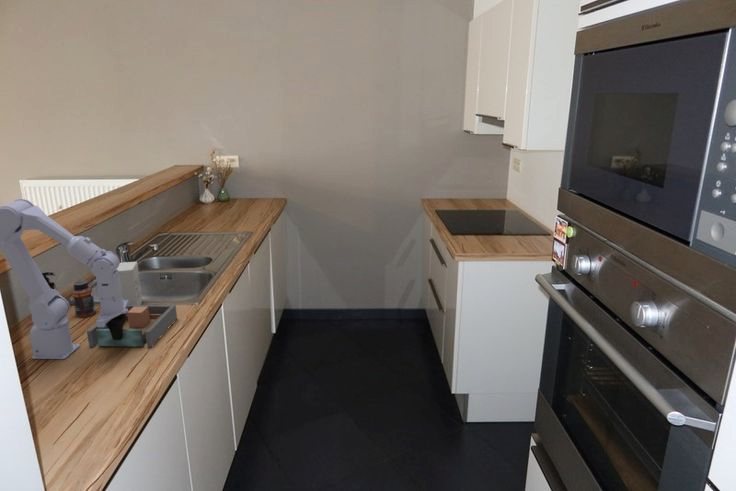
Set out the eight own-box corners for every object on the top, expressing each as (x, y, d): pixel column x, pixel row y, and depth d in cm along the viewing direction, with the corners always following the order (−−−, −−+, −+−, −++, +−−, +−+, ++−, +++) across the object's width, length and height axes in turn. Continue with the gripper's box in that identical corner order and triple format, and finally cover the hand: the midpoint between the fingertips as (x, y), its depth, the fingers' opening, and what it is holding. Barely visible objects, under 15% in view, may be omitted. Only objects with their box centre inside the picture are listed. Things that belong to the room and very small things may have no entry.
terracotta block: (129, 327, 162) (127, 312, 160) (136, 321, 166) (134, 306, 164) (143, 327, 161) (141, 312, 160) (150, 321, 166) (148, 306, 164)
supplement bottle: (100, 311, 177) (94, 280, 173) (87, 318, 171) (81, 286, 168) (85, 309, 178) (79, 278, 175) (71, 317, 172) (65, 285, 169)
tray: (98, 345, 152) (95, 330, 151) (126, 320, 168) (124, 306, 167) (142, 346, 152) (140, 330, 150) (166, 321, 168) (164, 306, 166)
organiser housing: (89, 347, 152) (86, 331, 151) (121, 318, 171) (119, 304, 169) (151, 347, 152) (149, 332, 150) (177, 319, 170) (175, 305, 168)
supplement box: (110, 314, 175) (102, 271, 170) (115, 303, 183) (109, 263, 178) (139, 311, 177) (132, 269, 172) (143, 300, 185) (137, 260, 180)
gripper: (111, 305, 139) (118, 351, 143) (136, 286, 153) (142, 328, 157) (85, 305, 140) (93, 351, 144) (113, 285, 154) (119, 328, 158)
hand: (117, 339), depth 151 cm, fingers closed
